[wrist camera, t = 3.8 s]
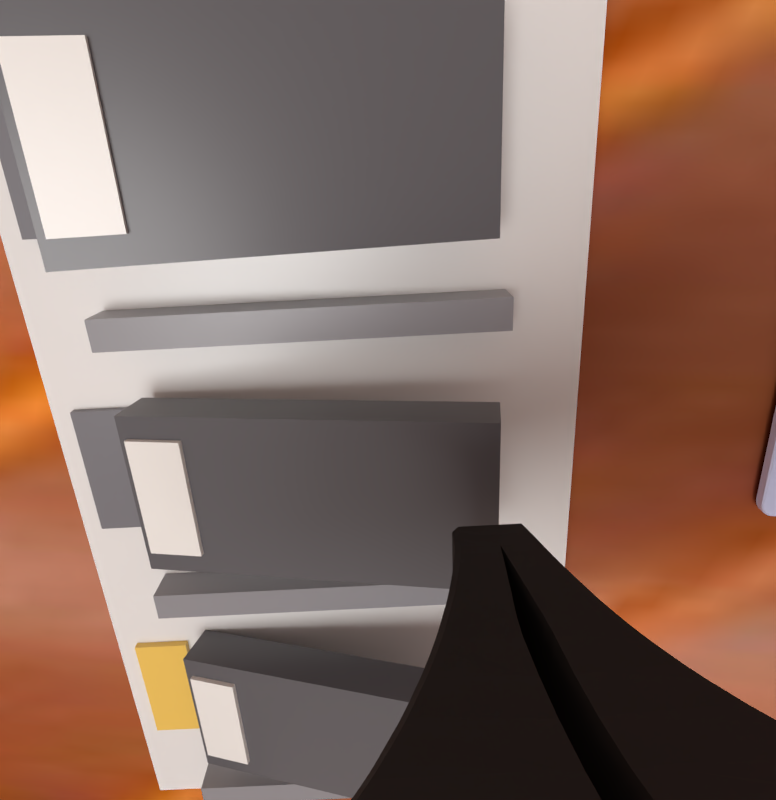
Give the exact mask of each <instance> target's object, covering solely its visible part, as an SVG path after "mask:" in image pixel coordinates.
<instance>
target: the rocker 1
mask: <svg viewBox="0 0 776 800" xmlns="http://www.w3.org/2000/svg"><path fill="white" fill-rule="evenodd" d="M504 11H505V0H0V102H1V106H2V110H3V114H4V117H5V121H6V125H7V129H8V132H9V136H10V140H11V144H12V147H13V151H14V155H15V159H16V162H17V166H18V170H19V174H20V177H21V181H22V185H23V189H24V192H25V196H26V200H27V204H28V208H29V211H30V215H31V219H32V223H33V226H34V230H35V234H36V238H37V241H38V245H39V249H40V253H41V256H42V260H43V264H44V268H45V271H46V272H56V271H70V270H83V269H96V268H110V267H123V266H137V265H150V264H163V263H177V262H190V261H203V260H217V259H230V258H244V257H257V256H270V255H284V254H297V253H311V252H324V251H337V250H351V249H364V248H377V247H391V246H404V245H418V244H431V243H444V242H458V241H471V240H485V239H498V238H500V215H501V164H502V113H503V62H504Z"/></svg>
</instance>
